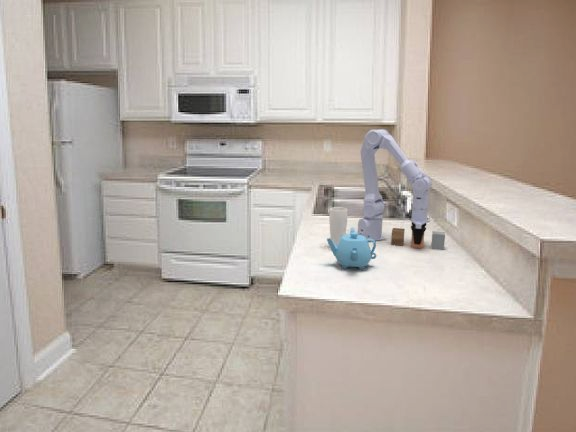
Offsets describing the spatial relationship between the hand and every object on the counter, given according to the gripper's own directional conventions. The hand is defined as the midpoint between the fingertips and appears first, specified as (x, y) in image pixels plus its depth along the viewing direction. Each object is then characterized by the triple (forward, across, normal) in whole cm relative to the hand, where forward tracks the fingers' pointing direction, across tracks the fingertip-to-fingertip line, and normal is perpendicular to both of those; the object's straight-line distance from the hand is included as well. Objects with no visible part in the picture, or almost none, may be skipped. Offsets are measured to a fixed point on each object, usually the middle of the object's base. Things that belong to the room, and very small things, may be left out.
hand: (417, 242), depth 169 cm
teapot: (+2, -32, +21) cm, 38 cm away
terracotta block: (+1, 0, 0) cm, 1 cm away
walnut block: (+2, 0, +8) cm, 8 cm away
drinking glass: (+2, -12, +29) cm, 32 cm away
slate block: (+2, 0, -8) cm, 8 cm away
